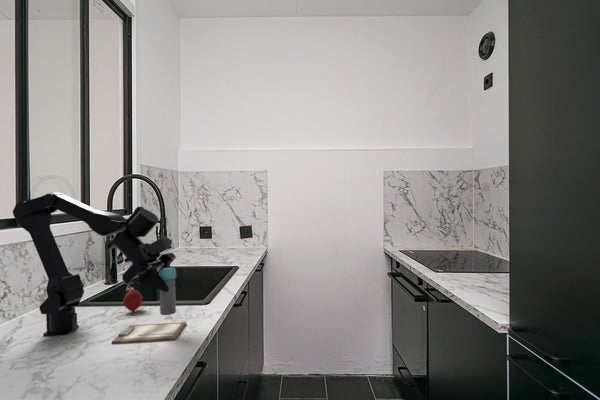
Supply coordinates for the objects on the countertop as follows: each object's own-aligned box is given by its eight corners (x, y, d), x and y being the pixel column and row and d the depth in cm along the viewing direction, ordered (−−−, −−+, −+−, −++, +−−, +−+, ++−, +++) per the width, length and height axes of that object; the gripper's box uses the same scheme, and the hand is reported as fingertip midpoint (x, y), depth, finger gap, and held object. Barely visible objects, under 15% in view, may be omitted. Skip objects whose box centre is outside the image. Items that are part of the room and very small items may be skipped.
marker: (160, 316, 95) (159, 271, 95) (159, 311, 99) (158, 268, 99) (177, 313, 97) (176, 269, 97) (176, 309, 101) (175, 267, 101)
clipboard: (111, 343, 92) (111, 339, 92) (130, 327, 104) (129, 323, 104) (175, 340, 93) (175, 335, 93) (186, 324, 105) (186, 320, 105)
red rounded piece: (146, 309, 121) (145, 286, 121) (132, 315, 115) (131, 290, 115) (134, 308, 123) (133, 285, 123) (119, 313, 118) (119, 289, 118)
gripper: (131, 231, 89) (174, 275, 87) (169, 225, 107) (204, 262, 106) (103, 262, 90) (145, 306, 88) (145, 251, 108) (180, 288, 107)
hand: (172, 288), depth 97 cm, fingers closed on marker, 4 cm apart
